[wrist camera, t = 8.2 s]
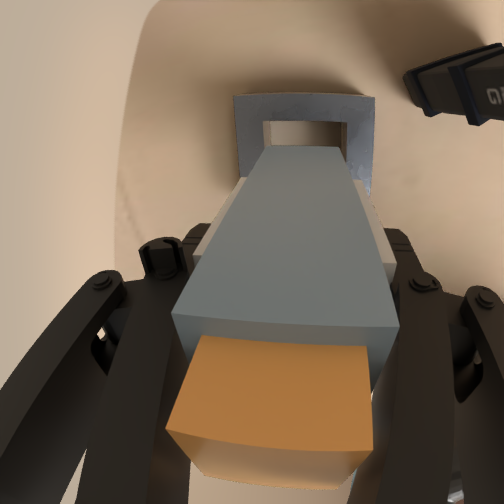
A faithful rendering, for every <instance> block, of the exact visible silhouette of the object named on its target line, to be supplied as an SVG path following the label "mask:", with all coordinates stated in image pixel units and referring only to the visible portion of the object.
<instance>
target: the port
mask: <svg viewBox="0 0 504 504" xmlns="http://www.w3.org/2000/svg"><path fill="white" fill-rule="evenodd" d="M233 99H234V112H235V124H236V136H237V148H238V160H239V171H240V178H241V177H248V175H249V174H250V172H251V170H252V169H253V167H254V165H255V164H256V162H257V161H258V159H259V157H260V156H261V154H262V152H263V151H264V149H265V147H266V146H271V131H270V121H332V122H341V153H342V156H343V158H344V160H345V163H346V165H347V167H348V170H349V172H350V175H351V177H352V179H353V180H362V182H363V184H364V186H365V188H366V191H367V193H368V195H369V197H370V189H371V177H372V164H373V147H374V121H375V97H371V96H367V95H358V94H344V93H323V92H270V93H249V94H241V95H236V96H233Z"/></svg>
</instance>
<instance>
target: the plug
mask: <svg viewBox="0 0 504 504" xmlns="http://www.w3.org/2000/svg"><path fill="white" fill-rule="evenodd" d="M171 315H172V318H173V321H174V324H175V327H176V330H177V332H178V335H179V338H180V341H181V344H182V347H183V349H184V352H185V355H186V358H187V360H188V363H189V368H188V371H187V373H186V376H185V379H184V381H183V384H182V386H181V389H180V391H179V394H178V397H177V399H176V402H175V404H174V407H173V410H172V412H171V415H170V418H169V420H168V423H167V425H166V428H165V429H166V430H167V432H168V433H169V434H170V435H171V437H172V438H173V439H174V440H175V442H176V443H177V444H178V445H179V447H180V448H181V449H182V450H183V451H184V453H185V454H186V455H187V456H188V457H189V459H190V460H191V461H192V462H193V463H194V464H195V465H196V467H197V468H198V469H199V470H200V471H201V472H202V473H203V474H204V475H205V476H209V477H213V478H218V479H223V480H228V481H235V482H241V483H247V484H254V485H262V486H271V487H282V488H297V489H337V488H338V487H339V486H340V485H341V484H342V483H343V482H344V481H345V480H346V479H347V478H348V477H349V476H350V475H351V474H352V473H353V472H354V471H355V470H356V469H357V468H358V467H359V465H360V464H361V463H362V462H363V461H364V460H365V459H366V458H367V457H368V455H369V454H370V453H371V452H372V451H373V427H372V405H371V393H372V391H373V389H374V387H375V385H376V383H377V381H378V378H379V376H380V374H381V372H382V369H383V367H384V365H385V363H386V360H387V358H388V355H389V353H390V351H391V348H392V346H393V343H394V341H395V338H396V335H397V333H398V330H399V328H400V325H399V321H398V317H397V313H396V309H395V305H394V302H393V298H392V294H391V291H390V287H389V283H388V280H387V277H386V273H385V270H384V267H383V263H382V260H381V257H380V254H379V251H378V248H377V245H376V242H375V239H374V236H373V233H372V230H371V227H370V224H369V221H368V218H367V216H366V213H365V210H364V208H363V205H362V202H361V200H360V197H359V194H358V192H357V189H356V187H355V184H354V182H353V179H352V177H351V175H350V172H349V170H348V167H347V165H346V163H345V160H344V158H343V156H342V153H341V151H340V149H339V147H329V146H266V147H265V149H264V151H263V152H262V154H261V156H260V157H259V159H258V161H257V162H256V164H255V165H254V167H253V169H252V170H251V172H250V174H249V175H248V177H247V179H246V180H245V182H244V184H243V185H242V187H241V189H240V190H239V192H238V194H237V196H236V197H235V199H234V201H233V202H232V204H231V206H230V207H229V209H228V211H227V213H226V214H225V216H224V218H223V220H222V221H221V223H220V225H219V226H218V228H217V230H216V232H215V233H214V235H213V237H212V239H211V241H210V242H209V244H208V246H207V248H206V249H205V251H204V253H203V255H202V257H201V258H200V260H199V262H198V264H197V266H196V267H195V269H194V271H193V273H192V275H191V276H190V278H189V280H188V282H187V284H186V286H185V287H184V289H183V291H182V293H181V295H180V297H179V299H178V300H177V302H176V304H175V306H174V308H173V310H172V312H171Z"/></svg>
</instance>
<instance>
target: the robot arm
mask: <svg viewBox="0 0 504 504" xmlns="http://www.w3.org/2000/svg"><path fill="white" fill-rule="evenodd" d="M246 179H247V177H241V178H240V180H239V181H238V183H237V185H236V186H235V188H234V189H233V191H232V192H231V194H230V195H229V197H228V198H227V200H226V202H225V203H224V205H223V206H222V208H221V209H220V211H219V213H218V214H217V216H216V217H215V219H214V221H213V222H212V224H206V223H200V224H198V225H197V226H195V227H194V228H192V229H191V230H190V231H189V232H188V234H187V235H186V236H185V238H184V239H183V241H182V242H181V241H180V240H179V239H177V238H174V237H162V238H157V239H154V240H152V241H149V242H147V243H146V244H144V245H143V246H142V247H141V248H140V249H139V250H138V251H139V254H140V258H141V261H142V264H143V267H144V271H145V277H144V279H141V280H134V281H127V282H124V281H123V279H122V276H121V274H120V273H119V272H118V271H115V270H105V271H101V272H99V273H97V274H95V275H93V276H92V277H91V278H90V279H88V280H87V281H86V282H85V284H84V285H83V286H82V287H81V288H80V289H79V290H78V291H77V292H76V294H75V295H74V296H73V297H72V298H71V299H70V300H69V302H68V303H67V304H66V305H65V306H64V307H63V309H62V310H61V311H60V312H59V313H58V314H57V316H56V317H55V318H54V319H53V321H52V322H51V323H50V324H49V325H48V327H47V328H46V329H45V330H44V332H43V333H42V334H41V335H40V337H39V338H38V339H37V340H36V342H35V343H34V344H33V345H32V347H31V348H30V349H29V351H28V352H27V353H26V355H25V356H24V357H23V359H22V360H21V362H20V363H19V364H18V366H17V367H16V368H15V370H14V371H13V372H12V374H11V375H10V377H9V378H8V379H7V381H6V382H5V384H4V385H3V387H2V388H1V390H0V504H60V502H61V500H62V497H63V495H64V493H65V491H66V489H67V487H68V485H69V483H70V481H71V479H72V477H73V475H74V472H75V470H76V468H77V466H78V464H79V462H80V460H81V458H82V456H83V454H84V452H85V450H86V449H87V450H86V455H85V459H84V463H83V468H82V472H81V477H80V482H79V487H78V492H77V498H76V501H75V504H188V495H189V479H190V463H191V460H190V459H189V457H188V456H187V455H186V454H185V453H184V451H183V450H182V449H181V448H180V447H179V445H178V444H177V443H176V442H175V440H174V439H173V438H172V437H171V435H170V434H169V433H168V432H167V430H166V429H165V428H166V425H167V423H168V420H169V418H170V415H171V412H172V410H173V407H174V404H175V402H176V399H177V397H178V394H179V391H180V389H181V386H182V384H183V381H184V379H185V376H186V373H187V371H188V368H189V363H188V360H187V358H186V355H185V352H184V349H183V347H182V344H181V341H180V338H179V335H178V332H177V330H176V327H175V324H174V321H173V318H172V315H171V312H172V310H173V308H174V306H175V304H176V302H177V300H178V299H179V297H180V295H181V293H182V291H183V289H184V287H185V286H186V284H187V282H188V280H189V278H190V276H191V275H192V273H193V271H194V269H195V267H196V266H197V264H198V262H199V260H200V258H201V257H202V255H203V253H204V251H205V249H206V248H207V246H208V244H209V242H210V241H211V239H212V237H213V235H214V233H215V232H216V230H217V228H218V226H219V225H220V223H221V221H222V220H223V218H224V216H225V214H226V213H227V211H228V209H229V207H230V206H231V204H232V202H233V201H234V199H235V197H236V196H237V194H238V192H239V190H240V189H241V187H242V185H243V184H244V182H245V180H246ZM353 182H354V184H355V187H356V189H357V192H358V194H359V197H360V200H361V202H362V205H363V208H364V210H365V213H366V216H367V218H368V221H369V224H370V227H371V230H372V233H373V236H374V239H375V242H376V245H377V248H378V251H379V254H380V257H381V260H382V263H383V267H384V270H385V273H386V277H387V280H388V283H389V287H390V291H391V294H392V298H393V302H394V305H395V309H396V313H397V317H398V321H399V325H400V328H399V330H398V333H397V335H396V338H395V341H394V343H393V346H392V348H391V351H390V353H389V355H388V358H387V360H386V363H385V365H384V367H383V369H382V372H381V374H380V376H379V378H378V381H377V383H376V385H375V387H374V390H373V396H372V402H371V405H372V427H373V451H372V452H371V453H370V454H369V455H368V457H367V458H366V459H365V460H364V461H363V462H362V463H361V464H360V465H359V467H358V468H357V469H356V470H355V471H354V474H353V479H352V484H351V491H350V495H349V498H348V502H347V504H455V503H456V501H459V500H461V499H464V504H504V304H503V302H502V301H501V299H500V298H499V297H498V295H497V294H496V293H495V292H493V291H492V290H491V289H489V288H486V287H484V286H472V287H470V288H469V289H468V290H467V292H466V294H465V296H464V297H461V296H457V295H453V294H449V293H446V292H444V291H443V290H442V286H441V284H440V282H439V281H438V280H437V279H436V278H435V277H434V276H432V275H430V274H429V273H426V272H424V271H423V268H422V266H421V264H420V262H419V260H418V258H417V256H416V254H415V252H414V249H413V247H412V246H411V243H410V241H409V239H408V237H407V236H406V235H405V234H404V233H403V232H401V231H400V230H399V229H388V228H383V227H382V224H381V222H380V220H379V217H378V215H377V213H376V210H375V208H374V206H373V204H372V201H371V199H370V197H369V195H368V193H367V191H366V188H365V186H364V184H363V182H362V180H353ZM101 327H102V328H103V330H104V332H105V336H104V337H103V338H102V339H99V337H98V335H97V333H98V332H99V330H100V329H101Z"/></svg>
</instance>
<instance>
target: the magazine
mask: <svg viewBox="0 0 504 504" xmlns="http://www.w3.org/2000/svg"><path fill="white" fill-rule="evenodd" d="M403 80H404V82H405V84H406V86H407V88H408V90H409V92H410V95H411V97H412V99H413V101H414V104H415V105H416V106H417V107H420V108H422V109H423V112H424V114H425V116H428V117H433V116H435V115H437V114H439V113H442V112H443V113H448V114H456V115H465V116H466V118H467V121H468V124H469V125H475V126H480V125H482V124H483V123H485V122H486V121H488V120H489V119H496V120H502V121H504V47H503V46H502V43H495V44H491V45H487V46H483V47H480V48H476V49H473V50H469V51H466V52H462V53H459V54H456V55H453V56H450V57H446V58H443V59H440V60H437V61H435V62H432V63H429V64H426V65H423V66H420V67H418V68H415V69H412V70H410V71H407V72H406V74H404V75H403Z"/></svg>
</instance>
